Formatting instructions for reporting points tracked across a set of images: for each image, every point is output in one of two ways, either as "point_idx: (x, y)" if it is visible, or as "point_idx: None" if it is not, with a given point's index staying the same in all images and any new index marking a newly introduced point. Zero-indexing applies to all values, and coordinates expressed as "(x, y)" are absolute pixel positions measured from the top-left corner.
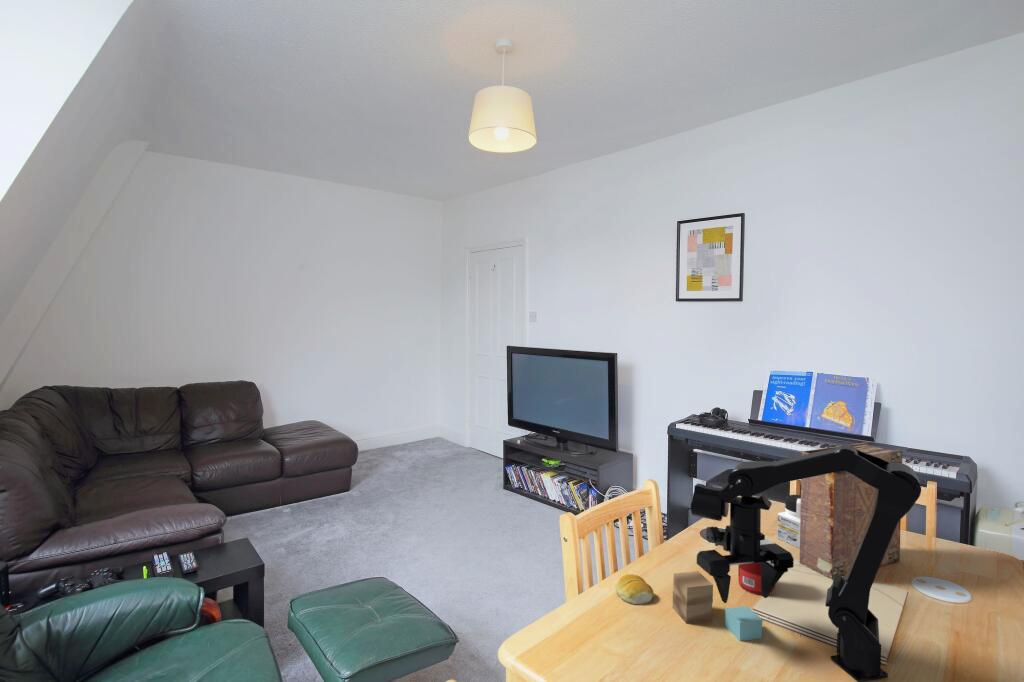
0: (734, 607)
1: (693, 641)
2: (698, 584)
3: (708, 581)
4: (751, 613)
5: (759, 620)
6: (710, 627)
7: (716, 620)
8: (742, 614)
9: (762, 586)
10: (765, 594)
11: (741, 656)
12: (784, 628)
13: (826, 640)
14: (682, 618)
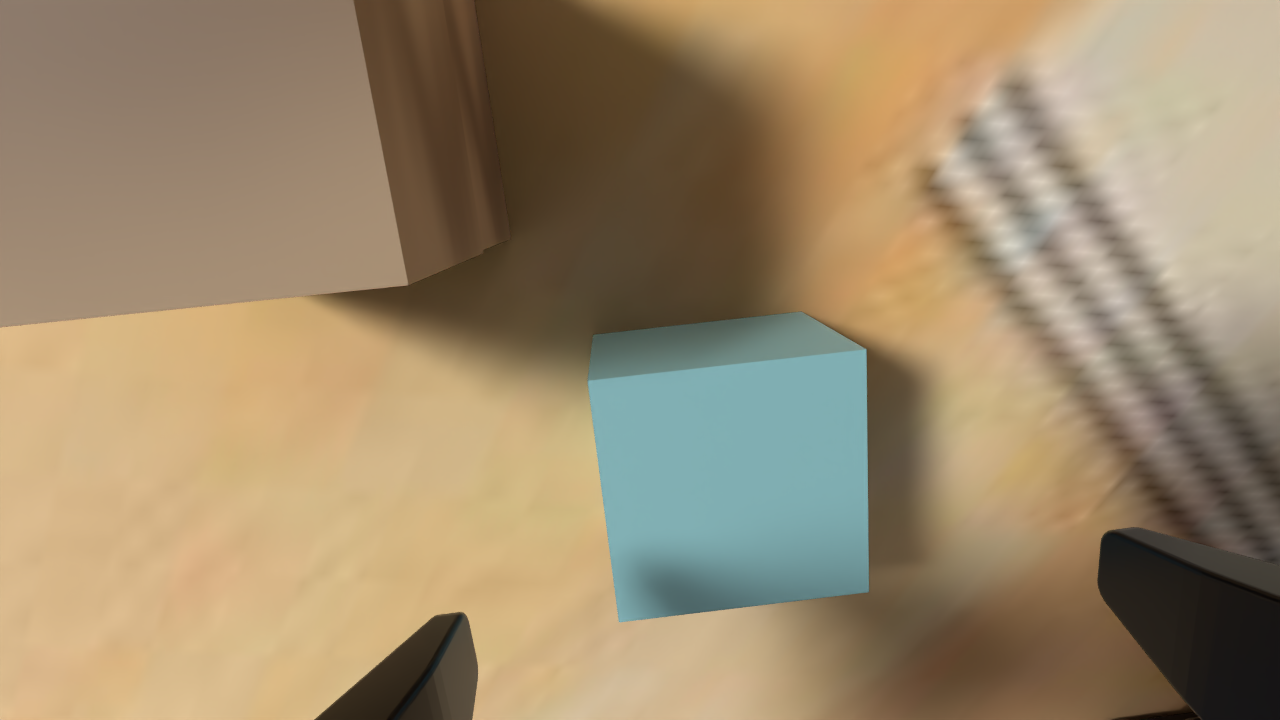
0: (704, 370)
1: (239, 508)
2: (97, 242)
3: (361, 137)
4: (826, 490)
5: (834, 594)
6: (453, 341)
7: (553, 243)
8: (720, 499)
9: (1252, 629)
10: (1147, 641)
11: (541, 674)
12: (1065, 400)
13: (1247, 552)
14: None
